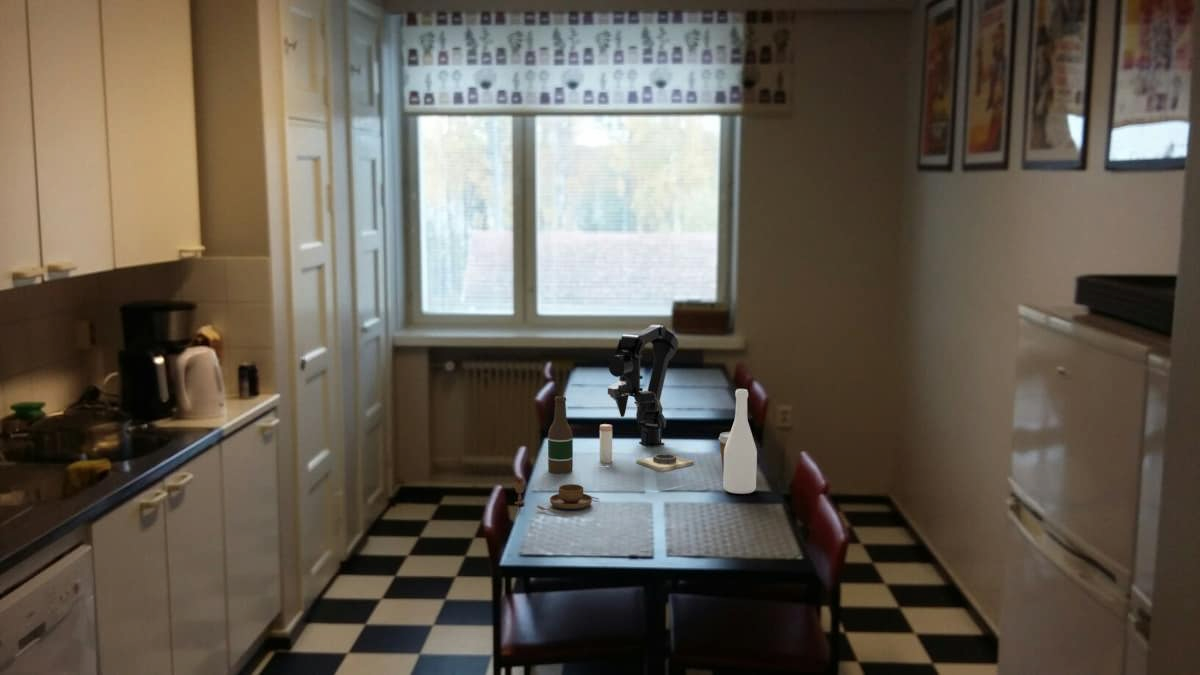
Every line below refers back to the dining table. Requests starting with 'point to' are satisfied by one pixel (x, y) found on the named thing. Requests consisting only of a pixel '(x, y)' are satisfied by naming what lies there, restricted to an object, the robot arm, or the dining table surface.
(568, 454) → the beer bottle
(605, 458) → the peg
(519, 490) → the place setting
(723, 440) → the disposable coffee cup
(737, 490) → the wine bottle
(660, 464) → the eye plate
